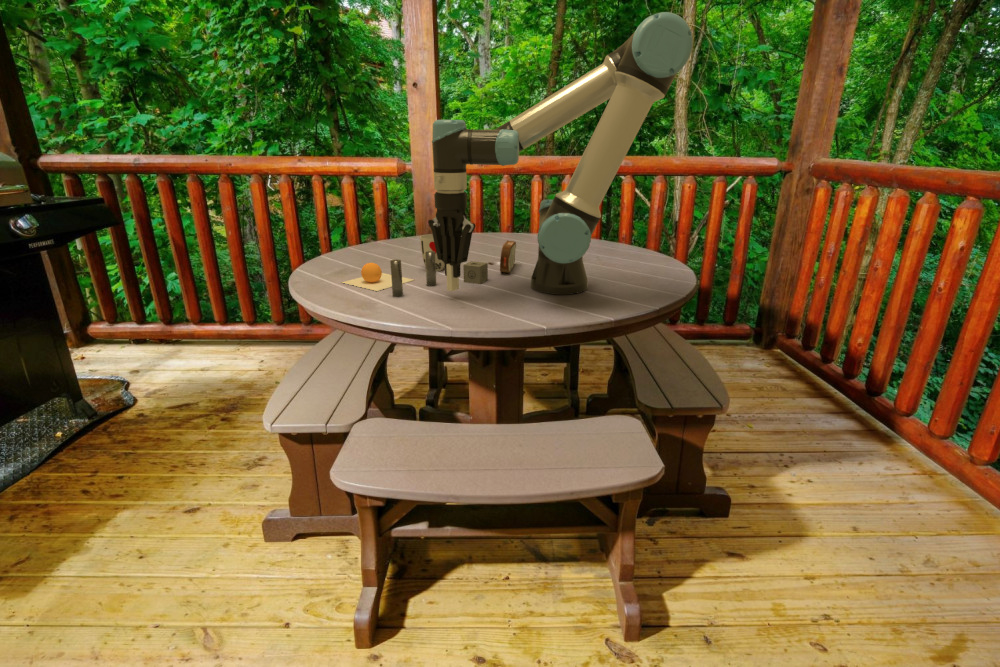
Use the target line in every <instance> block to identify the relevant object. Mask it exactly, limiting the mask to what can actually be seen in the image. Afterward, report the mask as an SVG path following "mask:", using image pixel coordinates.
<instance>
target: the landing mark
mask: <svg viewBox="0 0 1000 667" xmlns="http://www.w3.org/2000/svg"><path fill="white" fill-rule="evenodd" d="M414 281H415V279H413V278H410V277H404V276H402V285H404V284H408V283H411V282H414ZM343 283H345V284H344V285H347V284H349V285H348V286H351V285H354V286H353V287H356V286H357V287H356V288H360V287H362V288H361V289H364V288H366V289H365V290H368V289H370V290H369V291H372V290H374V291H373V292H376V291H377V292H380V290H381V291H384V290H387V289H390V288H392V279H391V274H389V273H384V272H382V276H381V278H380V279H379V280H378V281H377V282H374V283H369V282H367V281H365V280H364V279H363V277H362V276H360V277H356V278H353V279H349V280H345V281H342V282H341V284H343ZM383 289H384V290H383Z"/></svg>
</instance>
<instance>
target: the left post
mask: <svg viewBox="0 0 1000 667" xmlns="http://www.w3.org/2000/svg"><path fill="white" fill-rule="evenodd" d="M389 263H390V264H389V265H390V272H391V274H390V275H391V279H392V287H391V288H392V289H391V292H392V297H393V296H394V298H401V297H403V296H404V291H403V290H404V288H403V284H402V277H403V274H402V271H403V270H402V260H401V259H391V260H389Z"/></svg>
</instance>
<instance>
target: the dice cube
mask: <svg viewBox="0 0 1000 667" xmlns="http://www.w3.org/2000/svg"><path fill="white" fill-rule="evenodd" d="M462 266H463V267H462V268H463V269H462V270H463V283H466V284H476V285H482V284H483V283H485V282H487V281H488V280H489V279H488V276H489V274H488V273H489V272H488V270H489V267H488V266H489V263H488V262H483V261H482V262H481V261H472V260H471V261H469V262H466V263H465V264H463V265H462ZM486 280H487V281H486Z"/></svg>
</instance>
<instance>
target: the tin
mask: <svg viewBox="0 0 1000 667" xmlns="http://www.w3.org/2000/svg"><path fill="white" fill-rule="evenodd" d="M505 241H506V242H504V244H503V245H502V248H501V253H500V261H499V272H500V273H502V272H503V273H504V274H509V272H510V273H511V271H512V270H513V269H514V266H515V260H516V249H517V242H516V241H513V240H505ZM511 269H512V270H511Z"/></svg>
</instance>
